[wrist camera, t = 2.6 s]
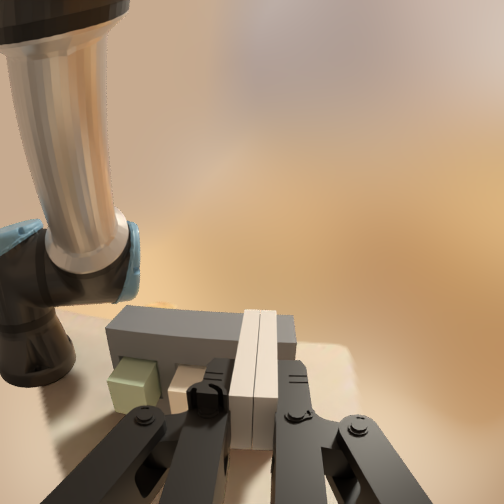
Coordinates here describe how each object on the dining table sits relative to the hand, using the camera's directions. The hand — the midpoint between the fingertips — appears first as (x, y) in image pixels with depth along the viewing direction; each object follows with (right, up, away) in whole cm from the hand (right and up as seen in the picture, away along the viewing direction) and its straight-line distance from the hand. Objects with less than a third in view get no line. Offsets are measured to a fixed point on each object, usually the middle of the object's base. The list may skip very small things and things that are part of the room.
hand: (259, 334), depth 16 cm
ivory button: (-6, -12, +15) cm, 21 cm away
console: (-6, -17, +21) cm, 28 cm away
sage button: (-13, -12, +15) cm, 23 cm away
